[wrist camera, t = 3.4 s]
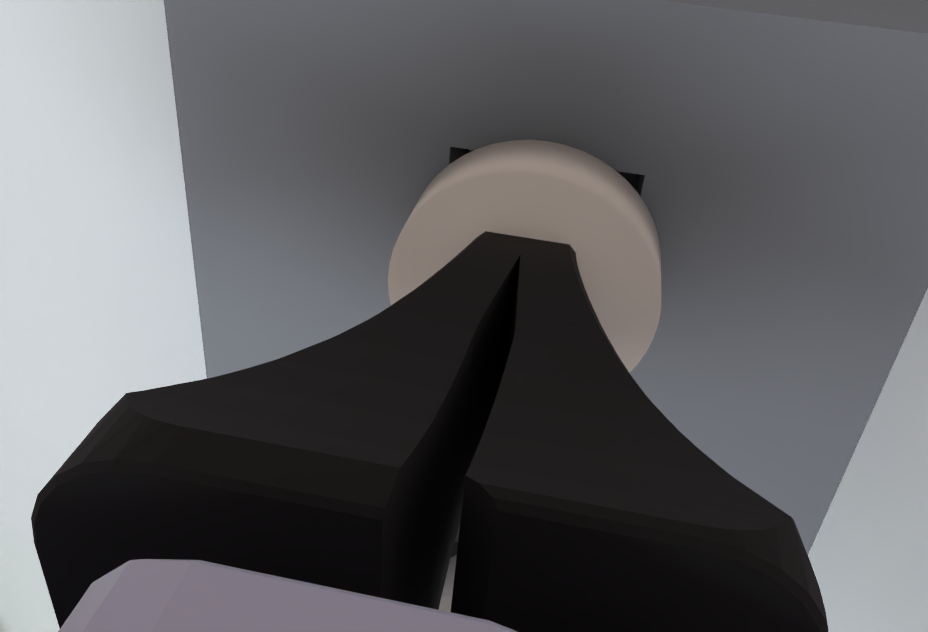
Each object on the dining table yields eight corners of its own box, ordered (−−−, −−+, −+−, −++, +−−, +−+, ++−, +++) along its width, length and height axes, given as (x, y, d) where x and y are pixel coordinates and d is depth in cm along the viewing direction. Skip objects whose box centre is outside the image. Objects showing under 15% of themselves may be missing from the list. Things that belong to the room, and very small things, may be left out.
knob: (683, 114, 14) (690, 196, 11) (635, 319, 16) (632, 428, 13) (441, 81, 14) (392, 152, 11) (427, 284, 16) (384, 384, 14)
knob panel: (963, -4, 13) (1035, 47, 11) (654, 789, 26) (655, 894, 24) (241, -89, 15) (156, -62, 12) (290, 706, 28) (254, 797, 25)
